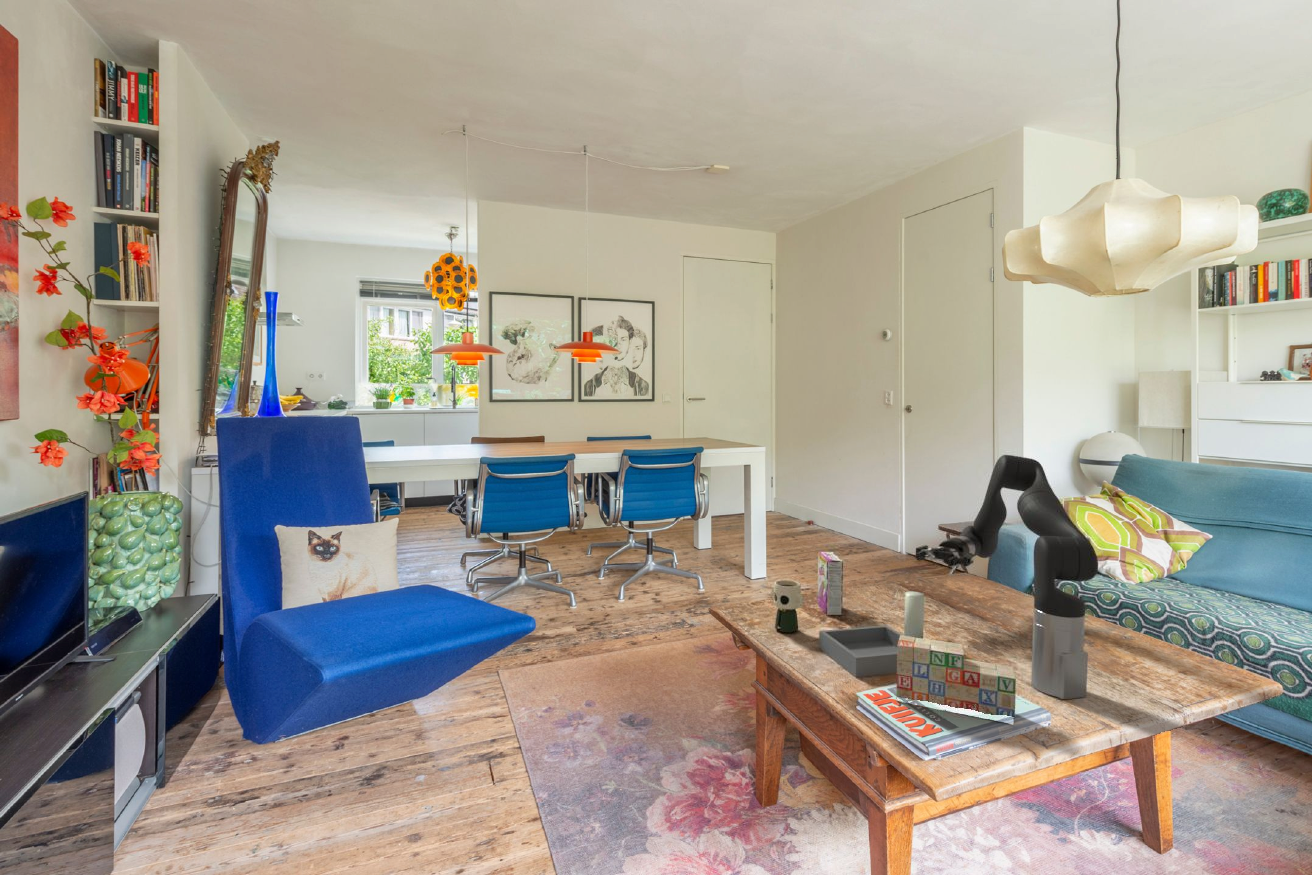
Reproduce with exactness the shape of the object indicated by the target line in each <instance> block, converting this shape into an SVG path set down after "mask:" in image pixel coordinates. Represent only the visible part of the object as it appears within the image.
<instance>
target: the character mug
mask: <svg viewBox="0 0 1312 875" xmlns="http://www.w3.org/2000/svg"><path fill="white" fill-rule="evenodd" d="M801 586H802V585H801V583H800V582H798V581H796V580H791V579H778V580H775V581H774V582H773V585H771V597H773V599H772V600H773V604H774V606H775V607H776V608H777V611H776V614H775V615H776V618H775V622H774V624H775V625H774V628H775V630H779V632H783V633H792V632H796V631H797V630H799V621H798V613H797V612H798V611H797V609H799V608H800V607H803V606H804V594H802V593H801V591H802V590H801V589H802V588H801Z"/></svg>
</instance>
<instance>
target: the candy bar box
mask: <svg viewBox="0 0 1312 875" xmlns="http://www.w3.org/2000/svg"><path fill="white" fill-rule="evenodd" d="M843 569H844V561H843V560H842V559H841V558H840V557H839V556H838V555H837V554H836V553H835V552H834V551H817V604H818V606H819V605H820V606H819V607H820V608H821V610H822V609H823V610H822V612H823V613H824V614H825V613H826V614H825V615H826V616H828V615H842V616H843V588H844V587H843V586H844V585H843V583H844V582H843V580H844V577H843V576H844V573H843V572H844V570H843Z"/></svg>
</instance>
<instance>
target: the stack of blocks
mask: <svg viewBox="0 0 1312 875" xmlns="http://www.w3.org/2000/svg"><path fill="white" fill-rule="evenodd" d="M903 635H904V634H902V635H900V638H899V641H898V648H897V673H896V698H897V697H900V698H908V699H911V700H920V701H928V702H932V703H937V704H939V705H940V704H941V705H948V706H950V707H955V708H964V709H971V710H975V711H978V712H982V713H984V714H991V715H1007V716H1012V717H1015V715H1016V688H1017V687H1016V684H1017V683H1016V682H1017V680H1016V674H1015V671H1014V667H1013V666H1008V665H1003V664H1002V665H1001V664H995V663H991V662H985V661H984V662H983V661H978V660H973V659H966V658H965V652H964V644H960V643H955V642H948V641H941V640H936V639H927V638H923V639H922V638H915V637H909V636H903Z"/></svg>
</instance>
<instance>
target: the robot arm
mask: <svg viewBox="0 0 1312 875" xmlns="http://www.w3.org/2000/svg"><path fill="white" fill-rule="evenodd" d="M992 469H993V470H992V472H991V476H990V479H989V482H988V486H987V489H986V493H985V496H984V499H983V503H982V505H981V508H980V509H979V511H978V512H977V513H978V514H977V515H976V517H975V519H974V521H973V525H968V526H966V527H965V528H964V529H963V530H962V531H961V533H960V534H959V535H957V536H953V537H950V538H947V539H945V540H943V541H941V542H940V543H939V544H938V546H935V547H929V545H927V544H924V545H921V546H918V547H915V559H916V561H918V562H920V561H924V560H925V559H926V560H927V559H928V560H929V561H940V562H943V563H944V564H946V565H947V566H948V567H949V568H952V567H956V566H957V567H958V566H961V565H962V566H963V567H969V566H971V565H972V564H974V557H976V556H977V557H979V558H983V559H987V558H990V557H992V556H993V555H994V554H995V552H996V550H997V548H998V543H999V534H1000V533H999V532H1000V529H1002V527H1003V525H1004V523H1005V521H1006V519H1007V507H1006V504H1005V502H1004V500H1003V496H1002V489H1003V488H1004V489H1008V490H1014V491H1019V492H1022V493H1021V494H1020V496H1019V498H1018V500H1017V503H1016V509H1017V511H1018V514H1019V516H1020V518H1021V521H1022V522H1023V524H1024V525H1025V526H1026V528H1027V529H1028V530H1029V531H1030V532H1032V533H1034V535H1036V536H1038V537H1037V539H1036V540H1035V543H1034V546H1033V578H1034V579H1033V623H1032V648H1031V651H1032V652H1031V675H1030V677H1031V679H1030V680H1031V682H1030V684H1031V686H1032V687H1033V688H1034V689H1035V690H1037V691H1039V692H1041V693H1043V694H1047V695H1049V696H1053V697H1057V698H1059V699H1061V700H1068V699H1069V700H1070V699H1076V698H1077V699H1078V698H1085V697H1087V685H1088V659H1089V654H1088V652H1087V651H1085V650H1084V648H1085V647H1084V646H1085V645H1084V644H1085V628H1086V627H1085V625H1086V624H1085V622H1086V603H1085V601H1084V600H1083V599H1081V598H1080V597H1078V596H1076V595H1073V594H1070V593H1069V592H1066V591H1063V590H1061V589H1060V588H1058V587H1057V586H1056V583H1055V582H1056V580H1057V581H1068V582H1088V581H1091V580H1092V579H1094V578H1095V577H1096V575H1097V574H1098V570H1099V560H1098V557H1097V553H1096V551H1095V548H1094V546H1093V544H1092V543H1091V542H1090V540H1089V538H1087V537H1086V536H1085V534H1084V533H1083V532H1082V531H1081V530H1080V529H1079V528H1078V526H1076V524H1075V523H1074V522H1073V520H1072V519H1071V517H1070V516H1069V515H1068V513H1067V511H1066V509H1065V507H1064V506H1063V504H1062V502H1061V501H1060V499H1059V498H1058V497H1057V495H1056V494H1055V492H1054V491H1053V488H1052V487H1051V484H1050V483H1049V480H1048V478H1047V476H1046V472H1045V469H1044V468H1043V465H1042V464H1041V463H1040V462H1039V461H1038V460H1036V459H1033V458H1029V457H1023V456H1018V455H1011V454H1003V455H1001V456H1000V457H999V458H998V459H997V460H996V462H995V465H994V467H993V468H992Z"/></svg>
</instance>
